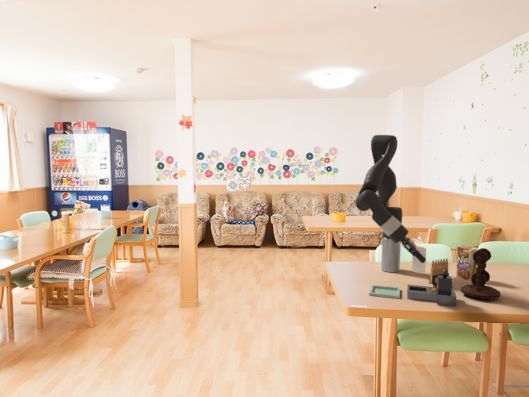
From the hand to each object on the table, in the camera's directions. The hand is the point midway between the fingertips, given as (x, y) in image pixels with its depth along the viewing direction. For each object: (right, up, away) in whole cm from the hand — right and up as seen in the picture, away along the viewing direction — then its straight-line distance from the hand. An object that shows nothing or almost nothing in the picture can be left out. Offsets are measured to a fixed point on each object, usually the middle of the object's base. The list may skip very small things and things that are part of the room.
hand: (423, 260), depth 164 cm
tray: (-14, -16, +6) cm, 22 cm away
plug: (-2, -4, +1) cm, 5 cm away
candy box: (+32, -14, +30) cm, 46 cm away
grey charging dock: (+3, -16, 0) cm, 17 cm away
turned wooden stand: (+26, -16, +5) cm, 31 cm away
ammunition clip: (+15, -15, +21) cm, 30 cm away
